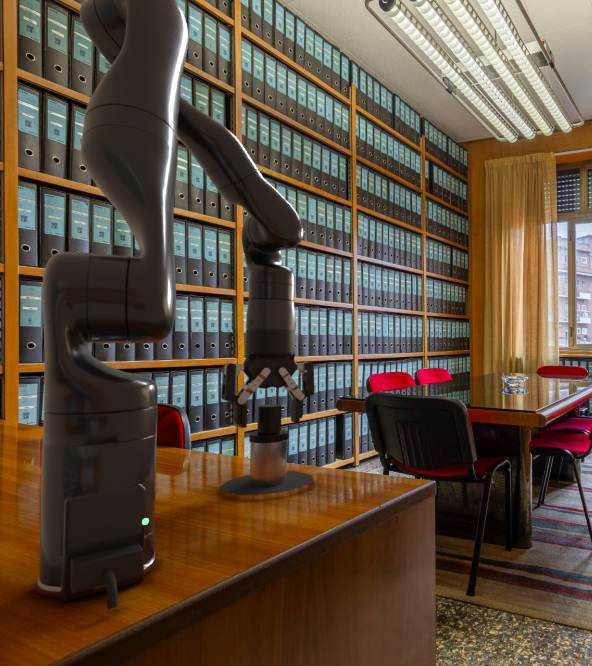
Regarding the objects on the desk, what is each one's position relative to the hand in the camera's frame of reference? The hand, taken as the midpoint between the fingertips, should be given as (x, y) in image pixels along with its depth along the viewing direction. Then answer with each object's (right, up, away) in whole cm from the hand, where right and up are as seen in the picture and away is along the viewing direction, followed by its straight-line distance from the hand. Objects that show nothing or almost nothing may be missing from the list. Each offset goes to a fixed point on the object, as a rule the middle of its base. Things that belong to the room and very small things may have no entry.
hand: (269, 424), depth 83 cm
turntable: (0, -11, 0) cm, 11 cm away
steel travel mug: (-1, -10, +1) cm, 10 cm away
